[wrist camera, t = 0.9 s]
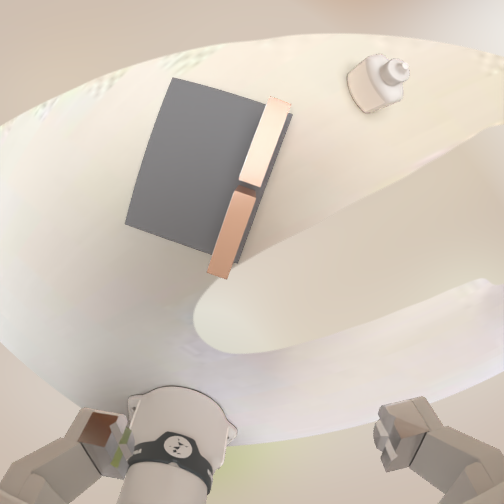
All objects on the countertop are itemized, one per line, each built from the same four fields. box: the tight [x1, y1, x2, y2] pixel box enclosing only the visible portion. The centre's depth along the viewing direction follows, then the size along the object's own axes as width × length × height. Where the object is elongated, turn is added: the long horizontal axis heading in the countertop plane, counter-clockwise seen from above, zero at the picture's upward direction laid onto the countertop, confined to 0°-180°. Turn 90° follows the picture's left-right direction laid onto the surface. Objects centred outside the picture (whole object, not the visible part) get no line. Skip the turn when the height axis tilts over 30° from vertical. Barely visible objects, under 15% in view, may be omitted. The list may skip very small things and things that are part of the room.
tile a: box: [207, 185, 256, 279], centre depth 32 cm, size 8×2×9 cm, turn 160°
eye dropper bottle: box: [347, 54, 410, 113], centre depth 27 cm, size 4×6×12 cm
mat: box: [125, 78, 293, 264], centre depth 35 cm, size 19×15×1 cm
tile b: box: [239, 96, 291, 187], centre depth 30 cm, size 8×2×9 cm, turn 160°
